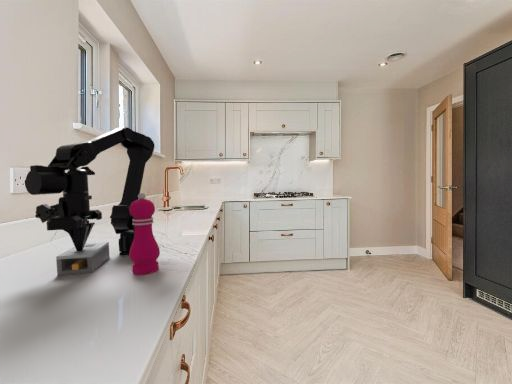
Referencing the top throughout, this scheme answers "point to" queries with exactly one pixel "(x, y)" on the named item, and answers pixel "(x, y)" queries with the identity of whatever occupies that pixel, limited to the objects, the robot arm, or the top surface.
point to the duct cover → (83, 251)
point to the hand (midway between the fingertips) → (79, 251)
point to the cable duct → (82, 263)
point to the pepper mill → (143, 237)
